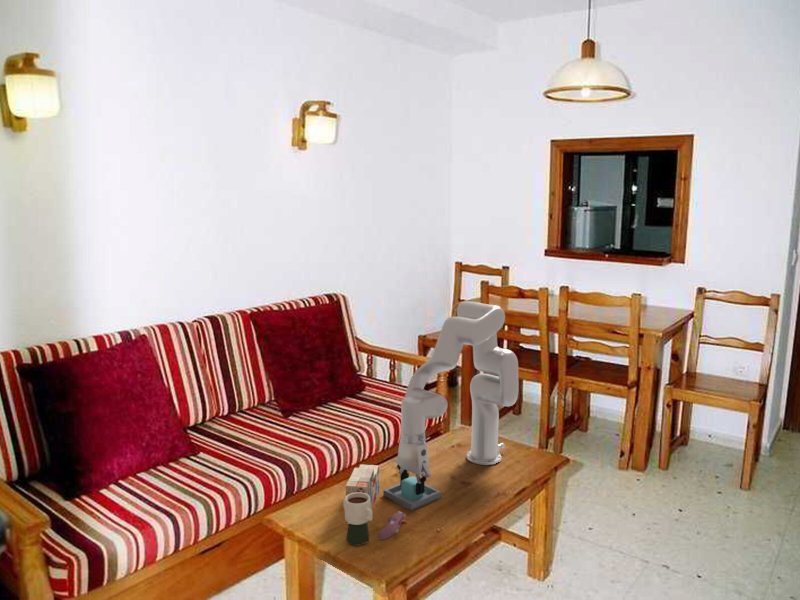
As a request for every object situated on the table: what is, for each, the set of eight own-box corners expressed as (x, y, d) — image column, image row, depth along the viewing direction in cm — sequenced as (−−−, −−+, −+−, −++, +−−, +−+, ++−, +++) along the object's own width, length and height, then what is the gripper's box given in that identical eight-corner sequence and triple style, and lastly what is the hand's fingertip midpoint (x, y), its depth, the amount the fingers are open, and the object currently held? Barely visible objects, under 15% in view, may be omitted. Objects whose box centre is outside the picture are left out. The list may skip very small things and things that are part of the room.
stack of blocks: (360, 490, 212) (360, 455, 210) (379, 492, 211) (379, 456, 209) (345, 524, 191) (345, 484, 189) (366, 525, 190) (366, 486, 188)
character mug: (380, 543, 181) (380, 499, 179) (362, 554, 176) (362, 509, 173) (352, 529, 188) (352, 487, 186) (334, 539, 183) (334, 496, 180)
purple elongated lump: (388, 547, 182) (399, 528, 180) (374, 537, 183) (385, 518, 181) (400, 529, 191) (410, 511, 189) (387, 520, 192) (397, 502, 190)
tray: (412, 483, 217) (412, 477, 217) (441, 497, 208) (441, 491, 207) (383, 495, 208) (383, 489, 208) (411, 510, 199) (411, 504, 199)
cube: (412, 490, 211) (412, 475, 211) (423, 495, 208) (423, 481, 207) (401, 495, 208) (401, 480, 207) (412, 500, 204) (412, 485, 204)
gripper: (441, 441, 201) (440, 495, 204) (402, 425, 213) (402, 477, 216) (423, 447, 196) (422, 503, 199) (385, 431, 208) (385, 484, 211)
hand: (412, 489), depth 208 cm, fingers open, 6 cm apart
